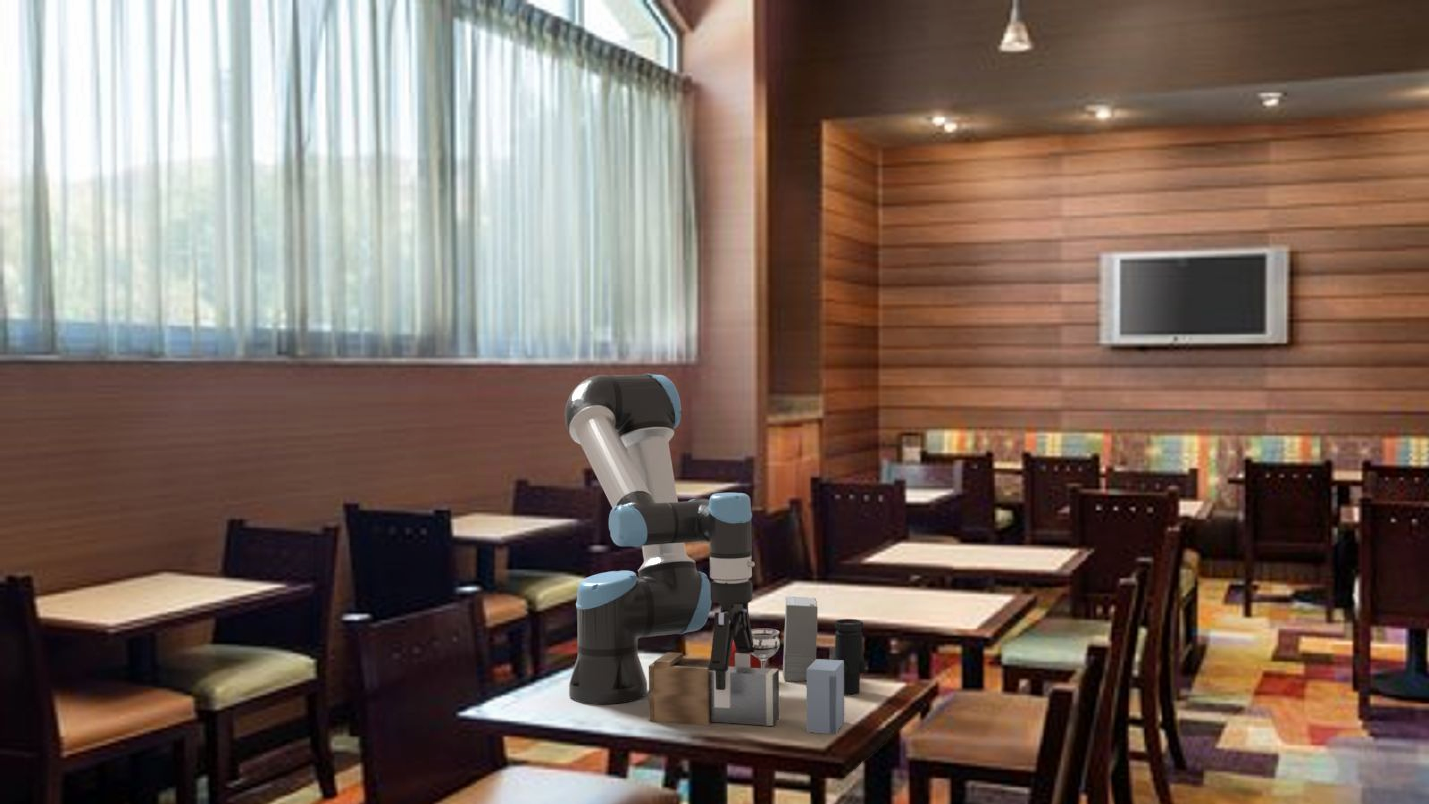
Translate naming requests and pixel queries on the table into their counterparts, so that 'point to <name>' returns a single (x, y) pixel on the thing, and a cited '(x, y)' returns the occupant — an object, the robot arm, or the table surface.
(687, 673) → the brown wooden box
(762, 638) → the wineglass
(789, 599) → the skincare box
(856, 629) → the scope
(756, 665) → the apple
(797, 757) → the table surface
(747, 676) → the grey rectangular box
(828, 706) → the blue-grey upright rectangular block
